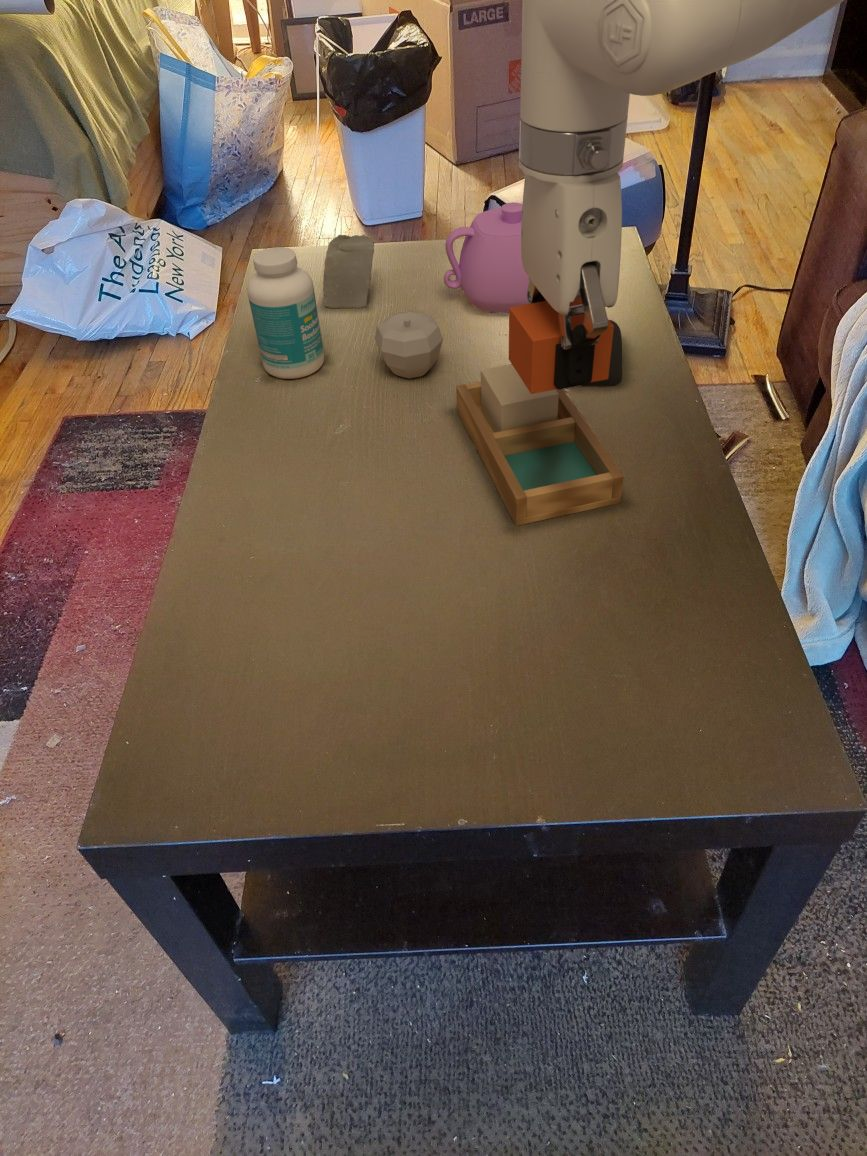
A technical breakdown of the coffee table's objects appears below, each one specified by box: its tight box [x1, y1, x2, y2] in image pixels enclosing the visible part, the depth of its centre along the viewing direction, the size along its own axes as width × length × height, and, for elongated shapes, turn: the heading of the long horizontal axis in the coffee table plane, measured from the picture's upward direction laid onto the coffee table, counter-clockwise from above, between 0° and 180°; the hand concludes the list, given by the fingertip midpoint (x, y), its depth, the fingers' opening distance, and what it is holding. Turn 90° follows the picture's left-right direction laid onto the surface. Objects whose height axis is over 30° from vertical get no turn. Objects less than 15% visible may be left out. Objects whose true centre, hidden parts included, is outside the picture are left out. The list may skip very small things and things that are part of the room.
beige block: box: [480, 363, 559, 433], centre depth 87 cm, size 6×7×5 cm
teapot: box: [443, 202, 530, 314], centre depth 106 cm, size 20×13×12 cm, turn 97°
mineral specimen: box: [322, 234, 375, 309], centre depth 110 cm, size 7×9×8 cm
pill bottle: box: [246, 246, 325, 380], centre depth 96 cm, size 8×7×14 cm
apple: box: [374, 310, 444, 380], centre depth 97 cm, size 8×8×7 cm
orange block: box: [508, 298, 614, 394], centre depth 71 cm, size 7×6×5 cm
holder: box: [455, 380, 625, 527], centre depth 85 cm, size 10×20×3 cm, turn 15°
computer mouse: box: [580, 319, 623, 387], centre depth 97 cm, size 6×11×4 cm, turn 174°
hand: (558, 363), depth 73 cm, fingers closed on orange block, 6 cm apart
